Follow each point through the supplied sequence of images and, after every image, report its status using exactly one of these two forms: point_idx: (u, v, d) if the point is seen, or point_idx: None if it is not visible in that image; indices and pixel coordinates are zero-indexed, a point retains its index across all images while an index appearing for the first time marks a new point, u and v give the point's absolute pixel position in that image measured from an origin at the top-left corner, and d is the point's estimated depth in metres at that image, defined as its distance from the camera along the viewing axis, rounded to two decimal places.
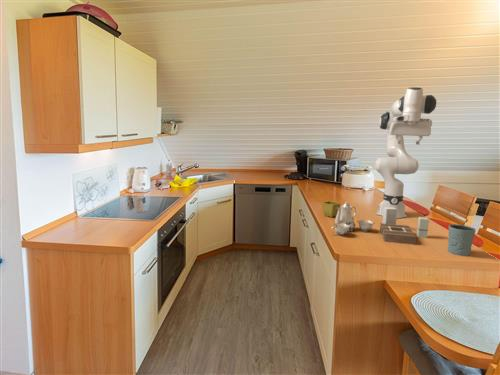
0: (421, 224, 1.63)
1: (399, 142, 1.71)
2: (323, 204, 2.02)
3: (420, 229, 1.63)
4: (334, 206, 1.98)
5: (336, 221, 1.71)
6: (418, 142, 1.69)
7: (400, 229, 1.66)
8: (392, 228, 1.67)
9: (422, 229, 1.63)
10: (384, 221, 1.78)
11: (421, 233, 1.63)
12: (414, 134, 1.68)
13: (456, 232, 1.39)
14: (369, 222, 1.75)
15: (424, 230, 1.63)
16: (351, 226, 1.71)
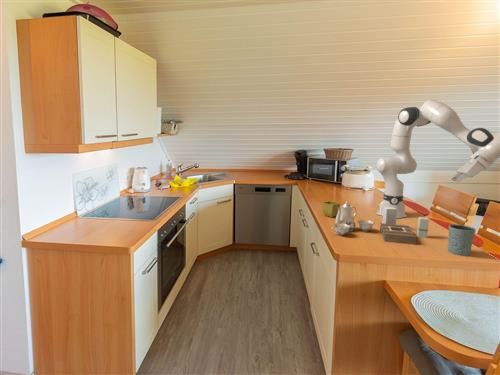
0: (421, 224, 1.63)
1: (459, 181, 1.52)
2: (323, 204, 2.02)
3: (420, 229, 1.63)
4: (334, 206, 1.98)
5: (336, 221, 1.71)
6: None
7: (400, 229, 1.66)
8: (392, 228, 1.67)
9: (422, 229, 1.63)
10: (384, 221, 1.78)
11: (421, 233, 1.63)
12: None
13: (456, 232, 1.39)
14: (369, 222, 1.75)
15: (424, 230, 1.63)
16: (351, 226, 1.71)
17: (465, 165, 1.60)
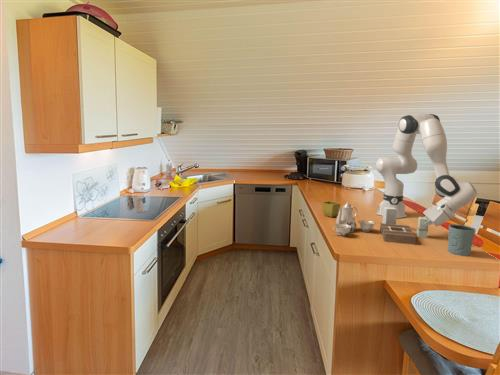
0: (421, 224, 1.63)
1: None
2: (323, 204, 2.02)
3: (420, 229, 1.63)
4: (334, 206, 1.98)
5: (337, 221, 1.70)
6: None
7: (400, 229, 1.66)
8: (392, 228, 1.67)
9: (422, 229, 1.63)
10: (384, 221, 1.78)
11: (421, 233, 1.63)
12: None
13: (456, 232, 1.39)
14: (370, 222, 1.75)
15: (424, 230, 1.63)
16: (352, 226, 1.70)
17: (431, 208, 1.68)
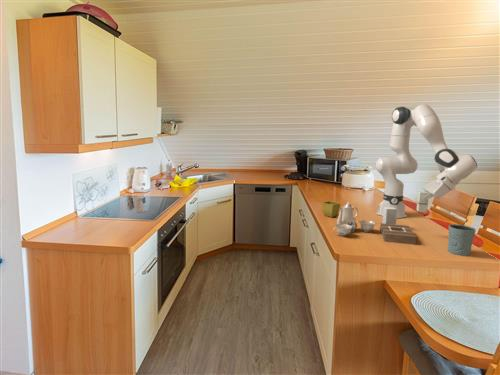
0: (421, 198, 1.60)
1: None
2: (323, 204, 2.02)
3: (420, 203, 1.61)
4: (334, 206, 1.98)
5: (338, 222, 1.70)
6: None
7: (400, 229, 1.66)
8: (392, 228, 1.67)
9: (422, 203, 1.60)
10: (384, 221, 1.78)
11: (421, 207, 1.61)
12: None
13: (456, 232, 1.39)
14: (371, 222, 1.74)
15: (424, 204, 1.60)
16: (353, 227, 1.70)
17: (431, 183, 1.65)
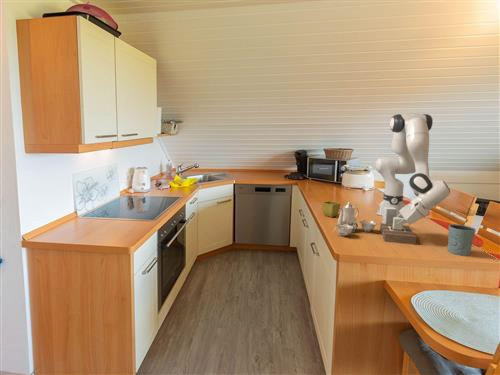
0: (395, 224, 1.62)
1: None
2: (323, 204, 2.02)
3: (394, 229, 1.62)
4: (334, 206, 1.98)
5: (339, 222, 1.69)
6: None
7: None
8: None
9: (396, 229, 1.62)
10: (384, 221, 1.78)
11: None
12: None
13: (456, 232, 1.39)
14: (371, 223, 1.74)
15: (398, 230, 1.62)
16: (354, 227, 1.69)
17: (407, 207, 1.66)
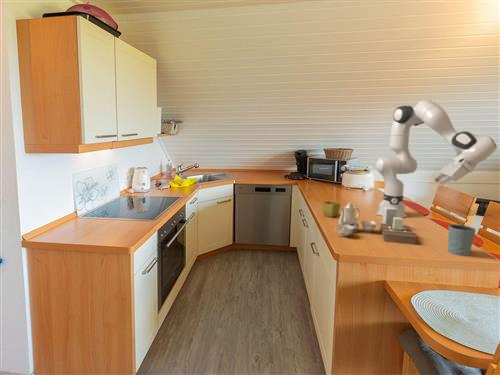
0: (395, 224, 1.62)
1: None
2: (323, 204, 2.02)
3: (394, 229, 1.62)
4: (334, 206, 1.98)
5: (340, 222, 1.69)
6: None
7: None
8: None
9: (396, 229, 1.62)
10: (384, 221, 1.78)
11: None
12: None
13: (456, 232, 1.39)
14: (372, 223, 1.74)
15: (398, 230, 1.62)
16: (355, 227, 1.69)
17: (448, 166, 1.61)
